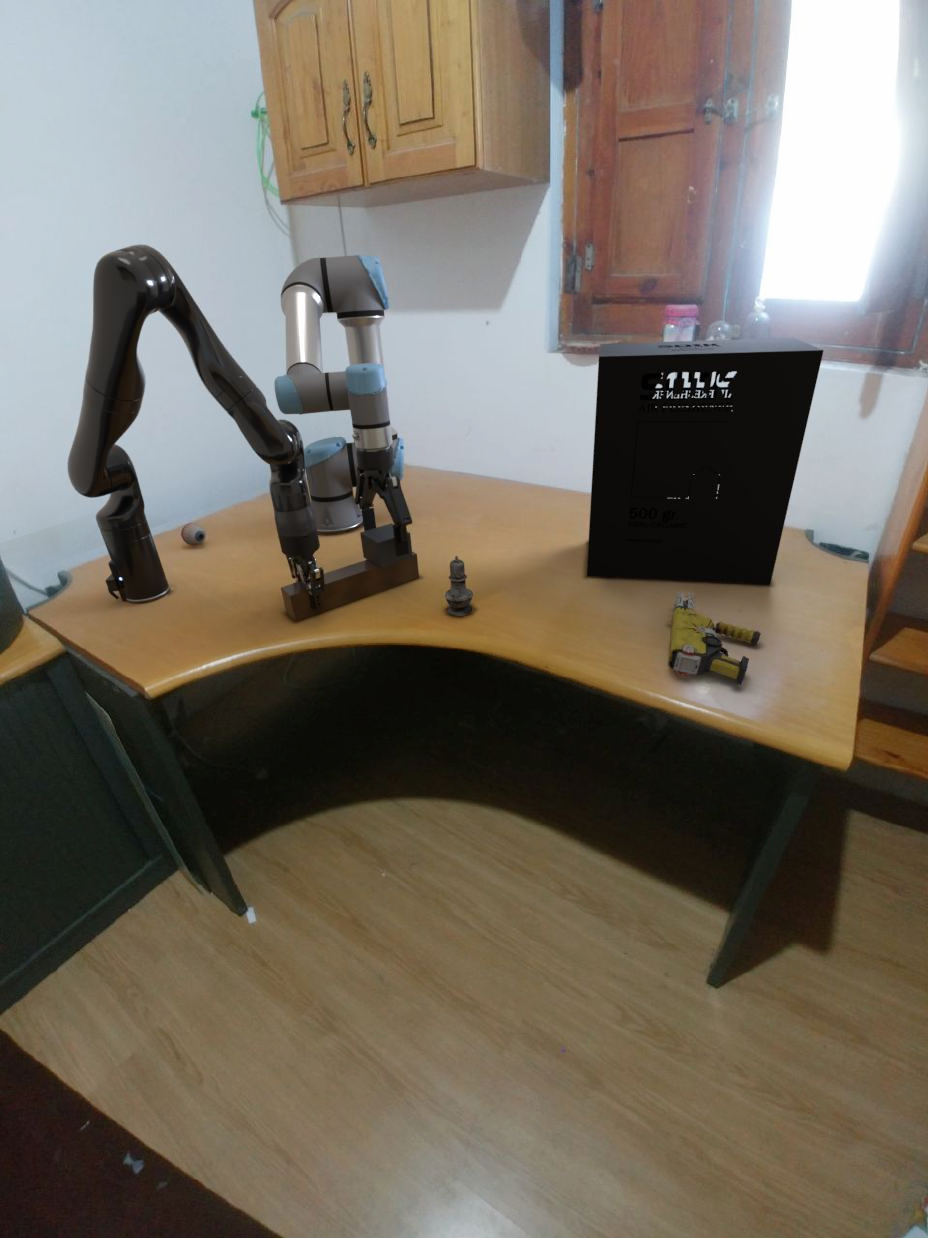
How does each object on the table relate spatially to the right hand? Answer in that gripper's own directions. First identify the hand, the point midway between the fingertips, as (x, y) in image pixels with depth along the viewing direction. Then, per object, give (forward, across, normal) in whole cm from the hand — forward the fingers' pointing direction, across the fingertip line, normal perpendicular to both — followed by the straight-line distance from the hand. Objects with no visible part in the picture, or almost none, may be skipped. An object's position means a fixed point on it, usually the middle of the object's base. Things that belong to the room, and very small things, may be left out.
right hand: (386, 545), depth 132 cm
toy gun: (+10, +62, +30) cm, 69 cm away
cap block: (+3, 0, 0) cm, 3 cm away
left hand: (+8, 0, -19) cm, 20 cm away
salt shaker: (+9, +21, +4) cm, 23 cm away
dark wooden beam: (+9, 0, -9) cm, 13 cm away
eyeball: (+9, -55, -28) cm, 62 cm away
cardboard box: (+9, +35, +54) cm, 65 cm away
